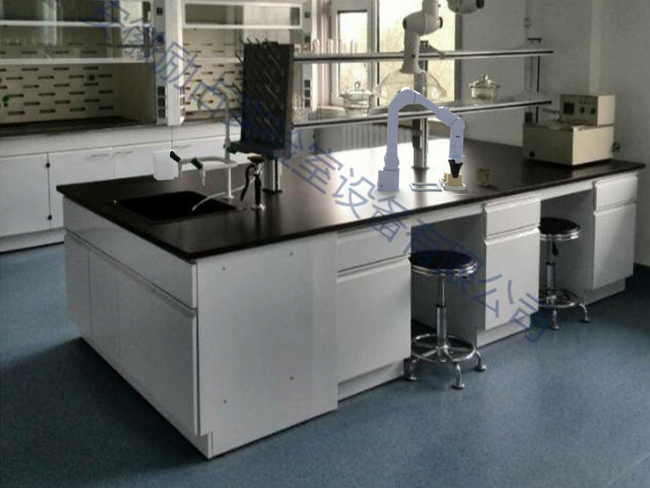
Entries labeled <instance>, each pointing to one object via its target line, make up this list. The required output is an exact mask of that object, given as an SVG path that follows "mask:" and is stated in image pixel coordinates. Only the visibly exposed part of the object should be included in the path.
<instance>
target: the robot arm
mask: <svg viewBox="0 0 650 488" xmlns="http://www.w3.org/2000/svg"><path fill="white" fill-rule="evenodd" d="M412 103H413V104H416V105H417V104H419V105H422V106H423V107H425V108H426V109H428V110H429V111H431V112H432V113H434V114H435V119H437V120H438V121H440V122H441V123H443V124H444V125H446V126H447V127H450V134H449V147H448V148H449V150H448V151H449V152H448V159H447V161H448V164H449V170H450V171H449V172H451V173H452V176H453V178H458V176H459V173H461V169H462V167H463V165H464V162H462V159H465V158H466V156H465V155H463V153H464V152H463V151H464V136H465V135H464V130H465V129H466V123H465V121H464V119H462V118H461V117H460V116H459V115H458V114H457V113H453V112H452V111H451V110H450V107H448V106H441V107H440V106H438V105H436V103H433V101H431V100H430V99H429V98H427V97H426V96H425V95H423V94H421V93H420V92H418V91H416V90H415V89H414V90H413V89H412V88H410V87H407V86H405V87H402V88H400V89H399V90H397V91H396V93H395V95H394V96H393V97H392V99H391V101H390V102H389V103H388V106H387V131H386V132H387V134H386V152H385V155H384V157H383V161H384V166H383V167H382V168H379V169H377V170H378V171H377V183H376V185H377V189H378V190H377V191H401V188H400V171H401V170H400V167H399V166H400V158H399V156H398V154H399V153H398V143H399V142H398V141H399V140H398V139H399V115H400V114H399V113H400V112H399V111H401V110H402V109H404V107H406V106H408V105H410V104H412Z"/></svg>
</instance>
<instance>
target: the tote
mask: <svg viewBox="0 0 650 488" xmlns="http://www.w3.org/2000/svg"><path fill="white" fill-rule="evenodd" d="M408 185H409V187H410V189H411V191H412V192H415V191H417V192H442V190H443V188H442V186H441V185H440V183H439V182H435V183H434V182H409V184H408ZM414 186H435V187H436V188H415V187H414Z"/></svg>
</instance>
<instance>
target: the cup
mask: <svg viewBox="0 0 650 488" xmlns="http://www.w3.org/2000/svg"><path fill="white" fill-rule="evenodd" d="M493 173H494V169H493V168H490V167H489V168H485V167H483V168H482V167H479V168H476V169H475V174H476V175H475V176H476V182H478V184H479V186H488V184H489V183H491V182H492V176H493Z"/></svg>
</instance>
